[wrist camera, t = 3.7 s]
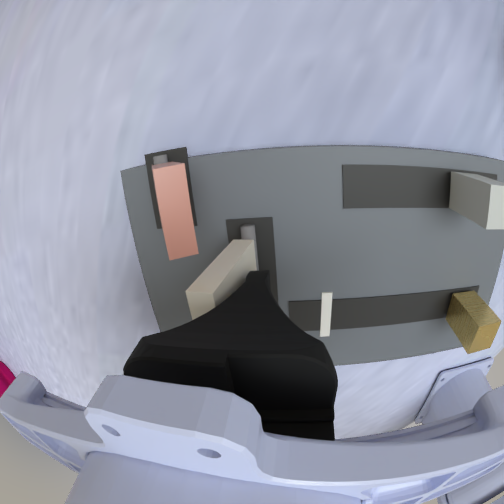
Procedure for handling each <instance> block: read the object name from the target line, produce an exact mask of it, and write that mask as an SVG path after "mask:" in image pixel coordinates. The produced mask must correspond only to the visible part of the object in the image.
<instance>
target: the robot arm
mask: <svg viewBox="0 0 504 504" xmlns="http://www.w3.org/2000/svg"><path fill="white" fill-rule="evenodd" d="M493 362H494V359H493V358H489V359H486V360H483V361H479V362H476V363H473V364H469V365H466V366H462V367H458V368H454V369H450V370H446V371H443V372H441V373H440V375H439V377H438V379H437V381H436V383H435V385H434V387H433V389H432V391H431V392H430V394H429V396H428V398H427V400H426V402H425V404H424V405H423V407H422V409H421V411H420V412H419V414H418V416H417V418H416V419H415V423H416V424H418V423H422V425H419V426H415V427H411V428H407V429H402V430H397V431H392V432H387V433H381V434H375V435H369V436H362V437H354V438H345V439H335V437H334V424H333V421H334V402H335V397H336V392H337V387H338V379H337V373H336V370H335V367H334V364H333V361H332V359H331V357H330V354H329V352H328V350H327V348H326V346H325V345H324V343H323V342H322V341H320V340H318V339H316V338H315V337H313V336H311V335H309V334H307V333H306V332H304V331H303V330H302V329H300V328H299V327H298V326H297V325H296V324H295V323H294V322H292V321H291V320H290V319H289V317H288V316H287V315H286V314H285V313H284V312H283V310H282V309H281V308H280V306H279V305H278V303H277V302H276V300H275V298H274V296H273V294H272V292H271V286H270V272H269V270H260V271H250V272H249V273H248V274H247V276H246V280H245V282H244V283H243V284H242V285H241V286H240V287H239V288H238V289H237V290H236V291H235V292H234V293H232V294H231V295H230V296H229V297H228V298H227V299H226V300H224V301H223V302H222V303H220V304H219V305H218V306H216V307H215V308H213V309H212V310H210V311H209V312H207V313H205V314H203V315H201V316H199V317H198V318H196V319H194V320H192V321H190V322H188V323H185V324H183V325H181V326H178V327H175V328H173V329H170V330H167V331H164V332H160V333H156V334H153V335H149V336H145V337H142V338H141V340H140V341H139V343H138V344H137V346H136V347H135V349H134V351H133V352H132V354H131V355H130V357H129V358H128V360H127V362H126V364H125V366H124V368H123V371H124V375H107V376H106V378H105V379H104V380H103V382H102V383H101V385H100V386H99V388H98V390H97V391H96V393H95V394H94V396H93V398H92V399H91V401H90V402H89V404H88V406H87V407H83V406H80V405H78V404H75V403H73V402H70V401H68V400H65V399H63V398H60V397H58V396H56V395H53V394H51V393H49V392H47V391H46V389H45V387H44V386H43V384H42V383H41V382H40V381H39V380H38V379H37V378H36V377H34V376H32V375H30V374H28V373H26V372H24V371H21V373H20V374H19V375H18V376H17V377H16V379H15V380H14V381H13V382H12V384H11V385H10V386H9V387H8V389H7V390H6V391H5V392H4V394H3V395H2V396H1V398H0V413H1V414H2V415H3V416H4V417H5V418H6V420H7V421H8V422H9V423H10V424H11V425H12V426H13V427H14V428H15V429H16V430H17V431H18V432H19V433H20V434H21V435H22V436H23V437H24V438H25V439H26V440H27V441H28V442H30V443H31V444H32V445H34V446H35V447H37V448H38V449H40V450H41V451H43V452H44V453H46V454H47V455H49V456H51V457H52V458H54V459H55V460H56V461H58V462H60V463H61V464H63V465H64V466H66V467H68V468H69V469H71V470H73V471H74V472H76V473H78V474H79V475H78V477H77V479H76V481H75V483H74V485H73V487H72V489H71V491H70V494H69V495H68V498H67V500H66V502H65V504H421V503H424V502H427V501H429V500H432V499H434V498H437V500H438V504H483V503H484V502H486V501H488V500H490V499H491V498H493V497H495V496H496V495H498V494H499V493H501V492H503V491H504V385H503V386H501V387H498V388H496V389H494V390H492V388H491V386H490V385H489V383H488V381H487V379H486V377H485V376H486V375H487V373H488V371H489V369H490V367H491V366H492V364H493ZM491 504H504V496H502V497H501V498H499V499H497V500H496V501H494V502H492V503H491Z"/></svg>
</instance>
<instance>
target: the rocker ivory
mask: <svg viewBox="0 0 504 504" xmlns="http://www.w3.org/2000/svg"><path fill="white" fill-rule="evenodd" d="M240 228H241V237H242V240H234V239H233V240H232V241H231V243H230V244H229V245H228V246H227V247H226V248H225V249H224V250H223V251H222V252H221V253H220V254H219V255H218V256H217V257H216V259H215V260H214V261H213V262H212V263H211V264H210V265H209V266H208V267H207V268H206V269H205V270H204V271H203V273H202V274H201V275H200V276H199V277H198V278H197V279H196V280H195V281H194V282H193V283H192V284H191V286H190V287H189V288H188V289H187V290H186V291H185V292H186V296H187V300H188V304H189V308H190V312H191V316H192V320H194V319H196V318H198V317H199V316H201V315H203V314H205V313H207V312H209V311H210V310H212V309H213V308H215V307H216V306H218V305H219V304H220V303H222V302H223V301H224V300H226V299H227V298H228V297H229V296H230V295H231V294H232V293H234V292H235V291H236V290H237V289H238V288H239V287H240V286H241V285H242V284H243V283H244V282H245V280H246V276H247V274H248V273H249V272H250V271H259V265H258V255H257V244H256V234H255V225H254V224H245V225H242V226H240Z"/></svg>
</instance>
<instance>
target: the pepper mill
mask: <svg viewBox="0 0 504 504" xmlns="http://www.w3.org/2000/svg"><path fill="white" fill-rule="evenodd" d="M15 379H16V378H15V376H14V375H13V373H12V372H11V371H10V370H9V368H8V367H7V366H6V365H5V364H4V363H2V362H1V361H0V398H1V396H2V395H3V394H4V392H5V391H6V390H7V389H8V387H9V386H10V385H11V384H12V382H13V381H14V380H15Z"/></svg>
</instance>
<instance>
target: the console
mask: <svg viewBox="0 0 504 504" xmlns="http://www.w3.org/2000/svg"><path fill="white" fill-rule="evenodd" d="M165 154H167V159H168V162H179V163H185V170H186V177H187V185H188V191H189V198H190V205H191V211H192V217H193V224H194V230H195V236H196V241H197V247H198V253H199V254H195V255H191V256H187V257H182V258H178V259H174V260H169V256H168V252H167V247H166V243H165V239H164V234H163V229H162V225H161V220H160V214H159V209H158V203H157V197H156V192H155V185H154V179H153V173H152V166H151V165H154V159H153V157H155V156H160V155H165ZM145 161H146V165H142V166H138V167H134V168H130V169H126V170H122V171H121V177H122V183H123V189H124V194H125V199H126V205H127V210H128V215H129V219H130V224H131V229H132V233H133V237H134V242H135V246H136V250H137V254H138V258H139V262H140V265H141V269H142V273H143V276H144V280H145V283H146V287H147V290H148V294H149V297H150V300H151V304H152V307H153V310H154V313H155V316H156V319H157V322H158V325H159V328H160V331H161V332H164V331H167V330H170V329H173V328H175V327H178V326H181V325H183V324H185V323H188V322H190V321H192V316H191V312H190V308H189V304H188V300H187V296H186V292H185V291H186V290H187V289H188V288H189V287H190V286H191V284H192V283H193V282H194V281H195V280H196V279H197V278H198V277H199V276H200V275H201V274H202V273H203V271H204V270H205V269H206V268H207V267H208V266H209V265H210V264H211V263H212V262H213V261H214V260H215V259H216V257H217V256H218V255H219V254H220V253H221V252H222V251H223V250H224V249H225V248H226V247H227V246H228V245H229V244H230V243H231V241H232V240H233V239H234V240H242V237H241V228H240V226H242V225H245V224H254V225H255V234H256V244H257V255H258V265H259V271H260V270H269V272H270V286H271V292H272V294H273V296H274V298H275V300H276V302H277V303H278V305H279V306H280V308H281V309H282V310H283V312H284V313H285V314H286V315H287V316H288V317H289V319H290V320H291V321H292V322H294V323H295V324H296V325H297V326H298V327H299V328H300V329H302V330H303V331H304V332H306V333H307V334H309V335H311V336H313V337H315V338H316V339H318V340H320V341H322V342H323V343H324V345H325V346H326V348H327V350H328V352H329V354H330V357H331V359H332V361H333V364H334V366H337V365H349V364H360V363H370V362H378V361H386V360H394V359H401V358H407V357H413V356H419V355H425V354H430V353H436V352H441V351H445V350H450V349H455V348H459V347H463V346H462V344H461V342H460V341H459V339H458V338H457V336H456V335H455V333H454V331H453V330H452V328H451V327H450V325H449V324H448V322H447V321H446V316H447V312H448V309H449V306H450V302H451V298H452V295H453V294H454V293H461V292H468V291H475V292H476V293H477V294H478V295H479V296H480V297H481V298H482V299H483V300H484V302H485V303H486V304H487V305H488V304H489V301H490V298H491V295H492V292H493V289H494V285H495V282H496V278H497V274H498V271H499V267H500V262H501V258H502V254H503V249H504V229H485V228H483V227H481V226H480V225H478V224H476V223H475V222H473V221H471V220H470V219H468V218H466V217H465V216H463V215H461V214H459V213H457V212H456V211H454V210H452V209H450V208H449V202H450V186H451V172H462V173H471V174H478V175H481V176H484V177H487V178H490V179H493V180H496V181H499V182H502V183H504V161H502V160H498V159H494V158H489V157H484V156H478V155H471V154H465V153H458V152H450V151H441V150H432V149H421V148H409V147H393V146H367V145H318V146H292V147H275V148H262V149H250V150H240V151H231V152H222V153H214V154H206V155H199V156H192V157H188V156H187V148H186V147H183V148H177V149H172V150H166V151H161V152H156V153H151V154H146V155H145Z"/></svg>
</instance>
